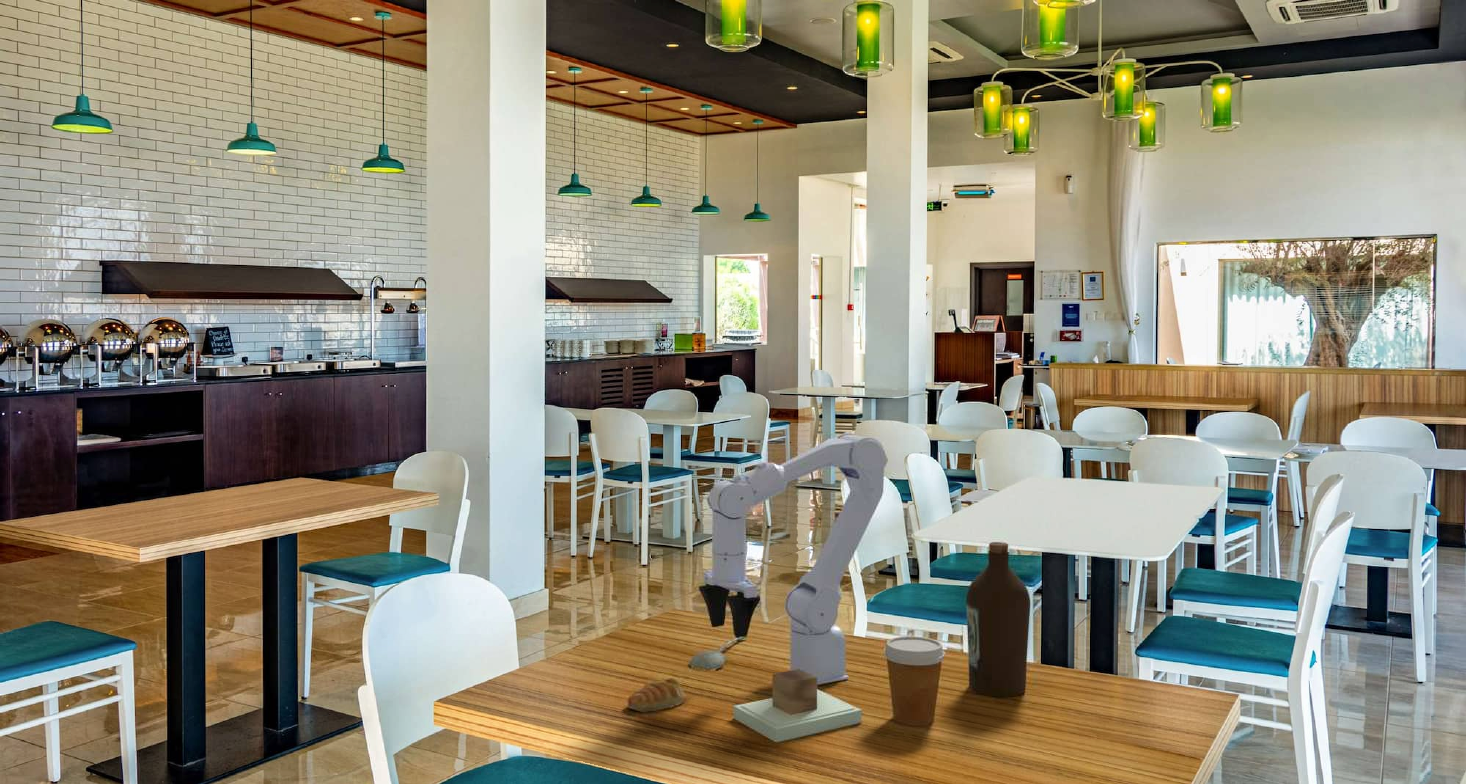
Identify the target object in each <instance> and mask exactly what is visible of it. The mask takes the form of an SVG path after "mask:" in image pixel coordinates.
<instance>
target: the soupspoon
mask: <svg viewBox="0 0 1466 784" xmlns="http://www.w3.org/2000/svg"><path fill="white" fill-rule="evenodd" d="M744 638H747V636H744V637H738V638H737V637H735V638H733V639H731V640H729V641H727V642H726V643H725V644H723V645H721V646H720V647H718V648H717V649H716V650H704V651H701V652H698V653H696V654H694V655H693V656H692V657H691V659H690V660H689V663H688V665H689V667H690V666H691V667H693V668H699V669H705V670H711V669H718V670H719V668H720V669H721V668H722V667H723V665H724V664H725V663H726V657H727V656H726V655H725V654H724V653H722V651H723V650H725V649H726V648H727V647H729V646H730V645H732V644H734V642H740V641H739V640H742V639H744Z"/></svg>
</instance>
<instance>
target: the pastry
mask: <svg viewBox="0 0 1466 784" xmlns="http://www.w3.org/2000/svg"><path fill="white" fill-rule="evenodd" d="M680 685H681V684H680V683H679V681H677V680H676V679H674V678H672V677H670V678H663V679H662V680H655V681H653V682H647V683H646V684H644V685H643V687H641V688H640V689H638V690H635V691H634V692H633V693H631V695H629V697H628V698H627V708H629V709H632V710H634V711H636V712H637V711H638V712H642V713H646V712H652V711H653V710H654V711H661V710H660V709H663V710H664V708H666V709H668V708H667V707H670V706H674V707H676V706H675V705H677V704H679V703H682V704H683V703H684V701H685V699H686V697H685V694H684V691H683V689H682V688H681V686H680ZM677 706H678V705H677ZM670 708H671V707H670ZM654 711H653V712H654Z"/></svg>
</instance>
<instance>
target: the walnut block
mask: <svg viewBox="0 0 1466 784" xmlns="http://www.w3.org/2000/svg"><path fill="white" fill-rule="evenodd" d="M771 680H772V682H771V683H772V687H771V688H772V693H771V694H772V697H771V698H772V706H774V707H776V708H778V709H780V710H782V711H784V712H786V713H788V714H790V715H792V714H797V713H802V712H806V711H811V710H815V709H817V689H818V685H817V677H815V676H813V675H811V674H808V673H806V672H804V671H802V670H800V669H796V670H791V671H790V670H787V671H781V672H776V673H772V679H771Z"/></svg>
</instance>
